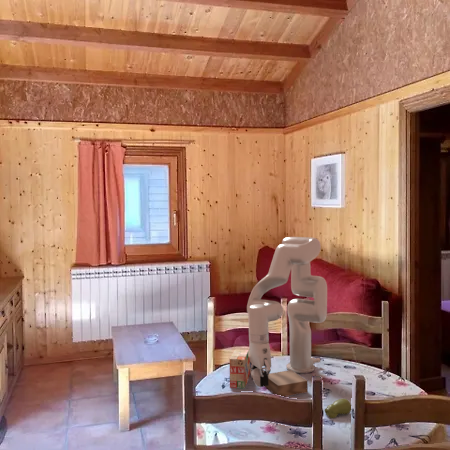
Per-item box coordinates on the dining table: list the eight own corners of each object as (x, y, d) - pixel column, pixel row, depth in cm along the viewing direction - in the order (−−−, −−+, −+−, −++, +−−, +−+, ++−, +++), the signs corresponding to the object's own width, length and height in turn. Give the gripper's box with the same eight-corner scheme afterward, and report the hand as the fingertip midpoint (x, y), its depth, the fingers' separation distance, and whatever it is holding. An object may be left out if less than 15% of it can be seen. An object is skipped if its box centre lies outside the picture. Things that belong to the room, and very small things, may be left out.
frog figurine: (257, 381, 190) (256, 364, 189) (272, 385, 185) (271, 368, 185) (248, 386, 185) (247, 369, 185) (263, 391, 181) (262, 373, 180)
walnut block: (291, 381, 202) (291, 370, 202) (307, 393, 190) (307, 380, 190) (263, 386, 198) (263, 374, 198) (278, 398, 186) (278, 385, 185)
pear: (353, 400, 169) (329, 409, 166) (355, 414, 170) (331, 423, 166) (344, 394, 174) (320, 403, 171) (346, 407, 175) (322, 417, 171)
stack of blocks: (238, 369, 217) (238, 342, 216) (252, 370, 216) (252, 343, 215) (229, 387, 196) (229, 358, 195) (244, 388, 195) (244, 359, 194)
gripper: (278, 342, 177) (279, 389, 179) (257, 329, 193) (258, 373, 195) (260, 345, 174) (261, 393, 176) (240, 332, 190) (241, 376, 192)
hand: (259, 382), depth 185 cm, fingers closed on frog figurine, 6 cm apart
